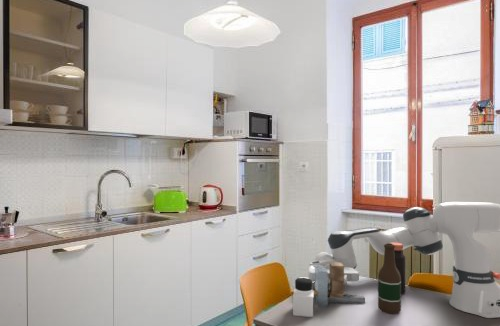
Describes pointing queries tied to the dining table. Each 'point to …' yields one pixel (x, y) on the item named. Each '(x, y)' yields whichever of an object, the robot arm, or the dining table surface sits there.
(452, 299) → the robot arm
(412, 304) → the dining table surface
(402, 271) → the vinegar
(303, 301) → the medicine bottle
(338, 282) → the carriage
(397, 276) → the beer bottle
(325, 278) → the rail and cabinet
